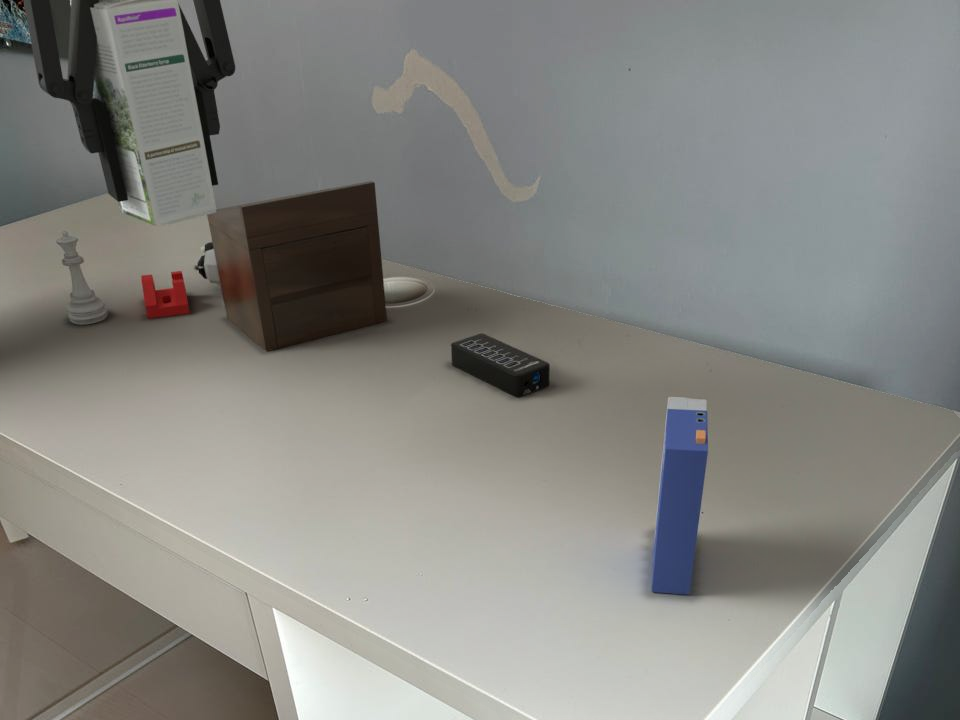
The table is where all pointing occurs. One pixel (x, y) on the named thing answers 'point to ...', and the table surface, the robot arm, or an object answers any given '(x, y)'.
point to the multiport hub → (500, 365)
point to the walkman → (680, 494)
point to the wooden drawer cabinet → (301, 264)
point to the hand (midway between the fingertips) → (163, 188)
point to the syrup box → (152, 110)
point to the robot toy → (208, 264)
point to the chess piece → (80, 287)
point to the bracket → (165, 297)
